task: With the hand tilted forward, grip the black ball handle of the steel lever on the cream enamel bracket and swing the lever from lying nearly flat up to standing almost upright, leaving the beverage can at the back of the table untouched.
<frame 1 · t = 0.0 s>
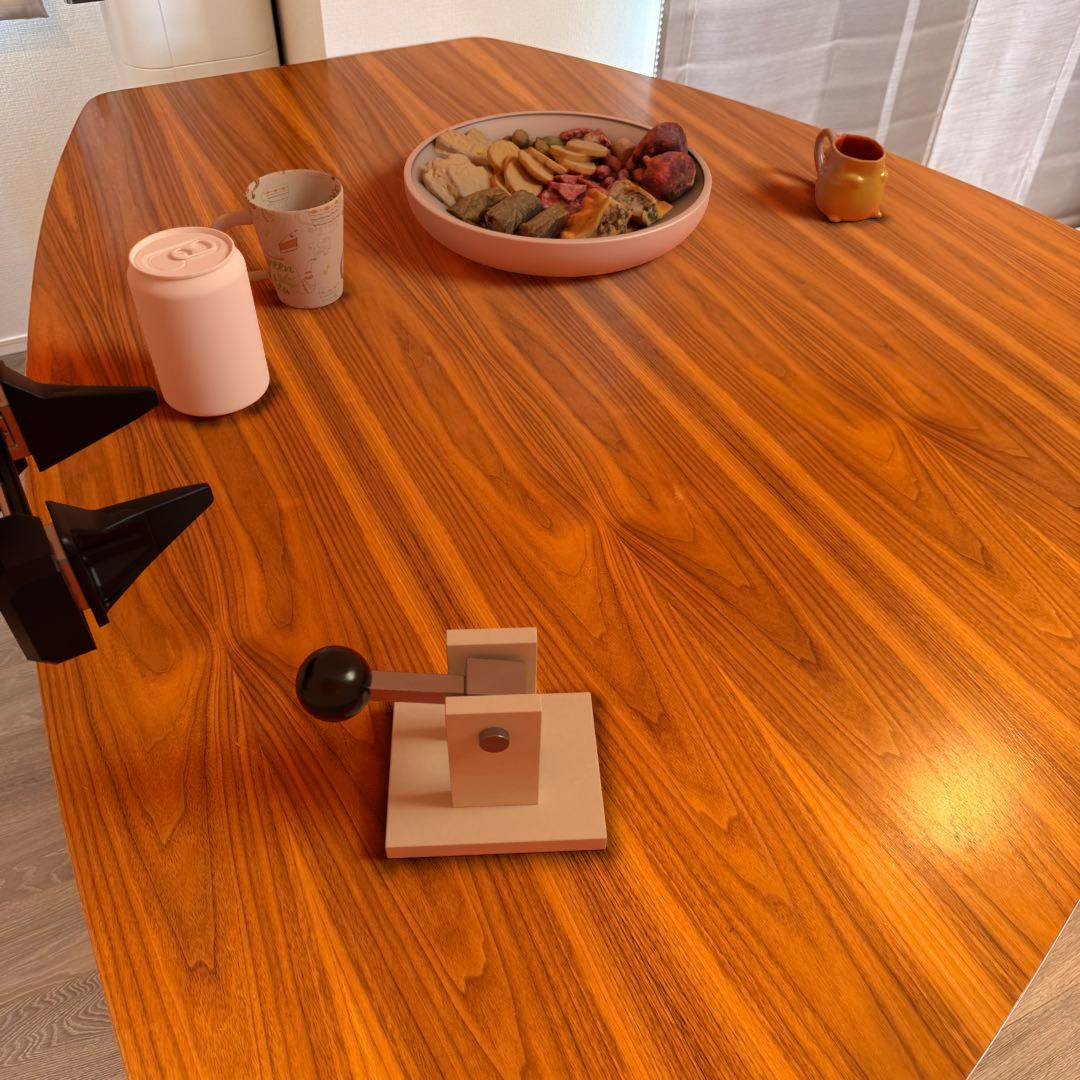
hand: (182, 440, 50), 14 cm above the table, tool horizontal, fingers open, 9 cm apart
mug: (288, 297, 87), on the table
lever: (410, 687, 46), point 8 cm above the table, hinge at 8.0°
mug 2: (834, 200, 103), on the table
beverage can: (219, 393, 76), on the table
bowl: (556, 218, 99), on the table
bracket: (494, 776, 52), on the table
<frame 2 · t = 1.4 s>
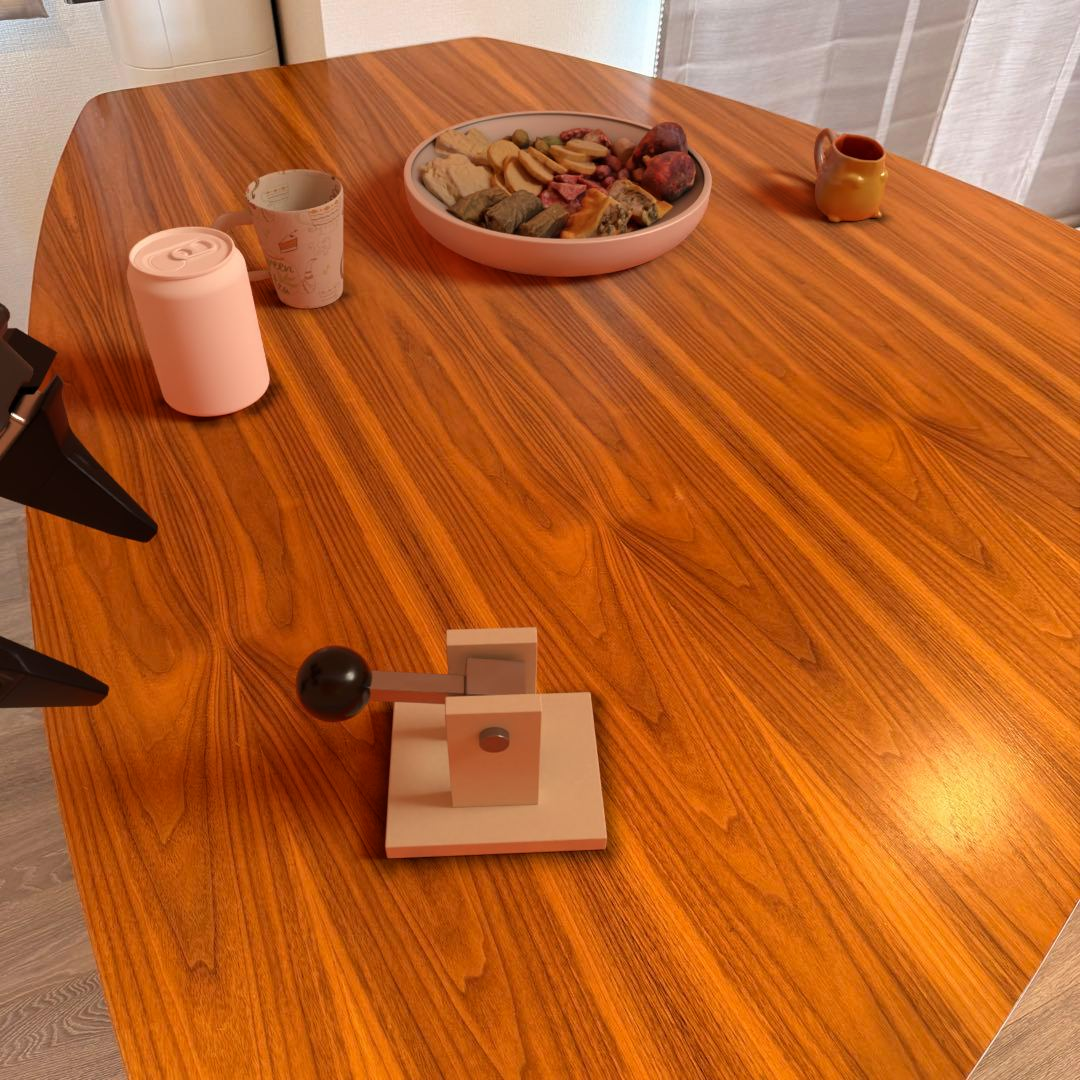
hand: (130, 609, 42), 14 cm above the table, tool tilted 45°, fingers open, 9 cm apart
nothing on the table moved.
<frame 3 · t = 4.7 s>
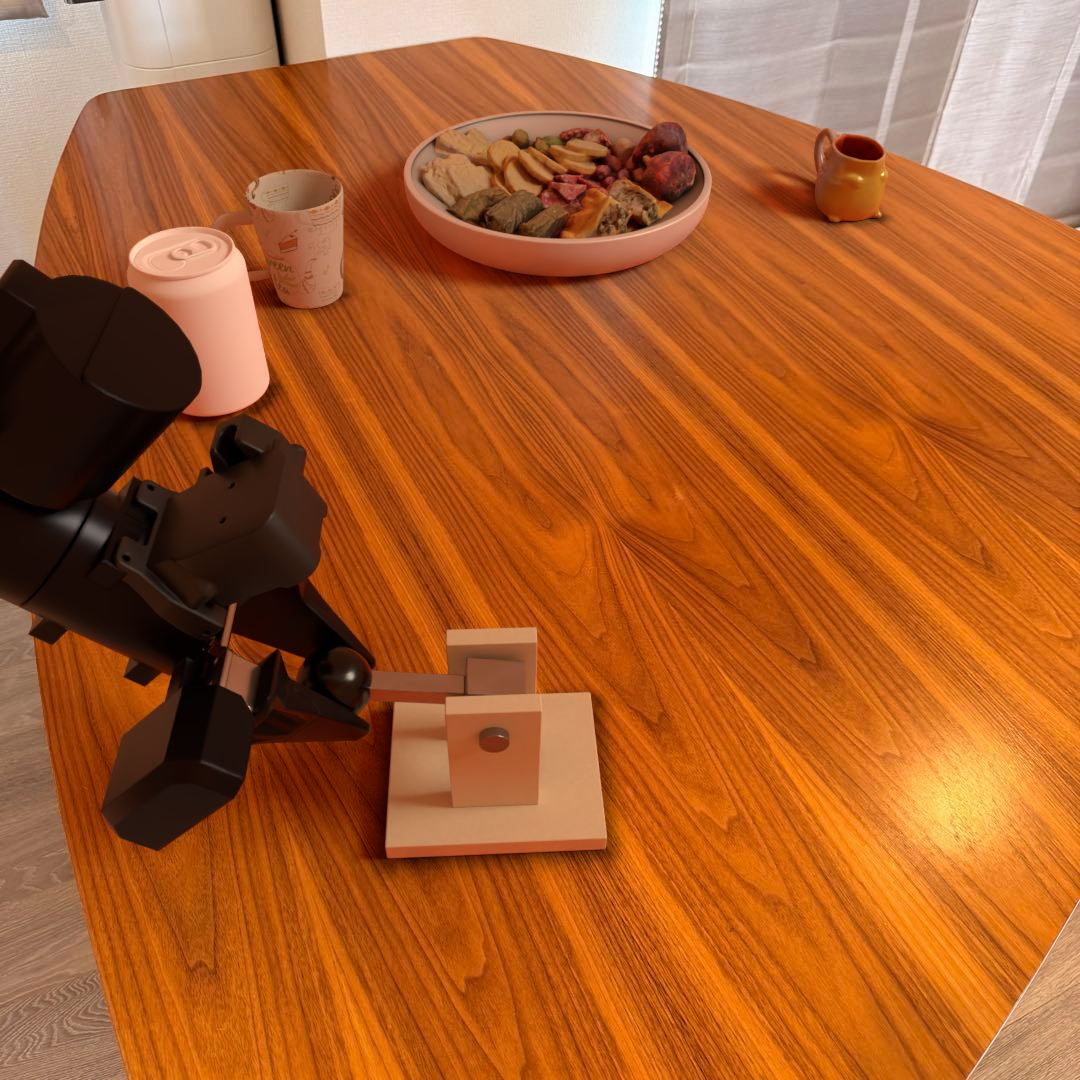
hand: (367, 700, 47), 7 cm above the table, tool tilted 45°, fingers closed on lever, 3 cm apart
lever: (410, 687, 46), point 8 cm above the table, hinge at 8.0°, touching gripper
everything else where it was.
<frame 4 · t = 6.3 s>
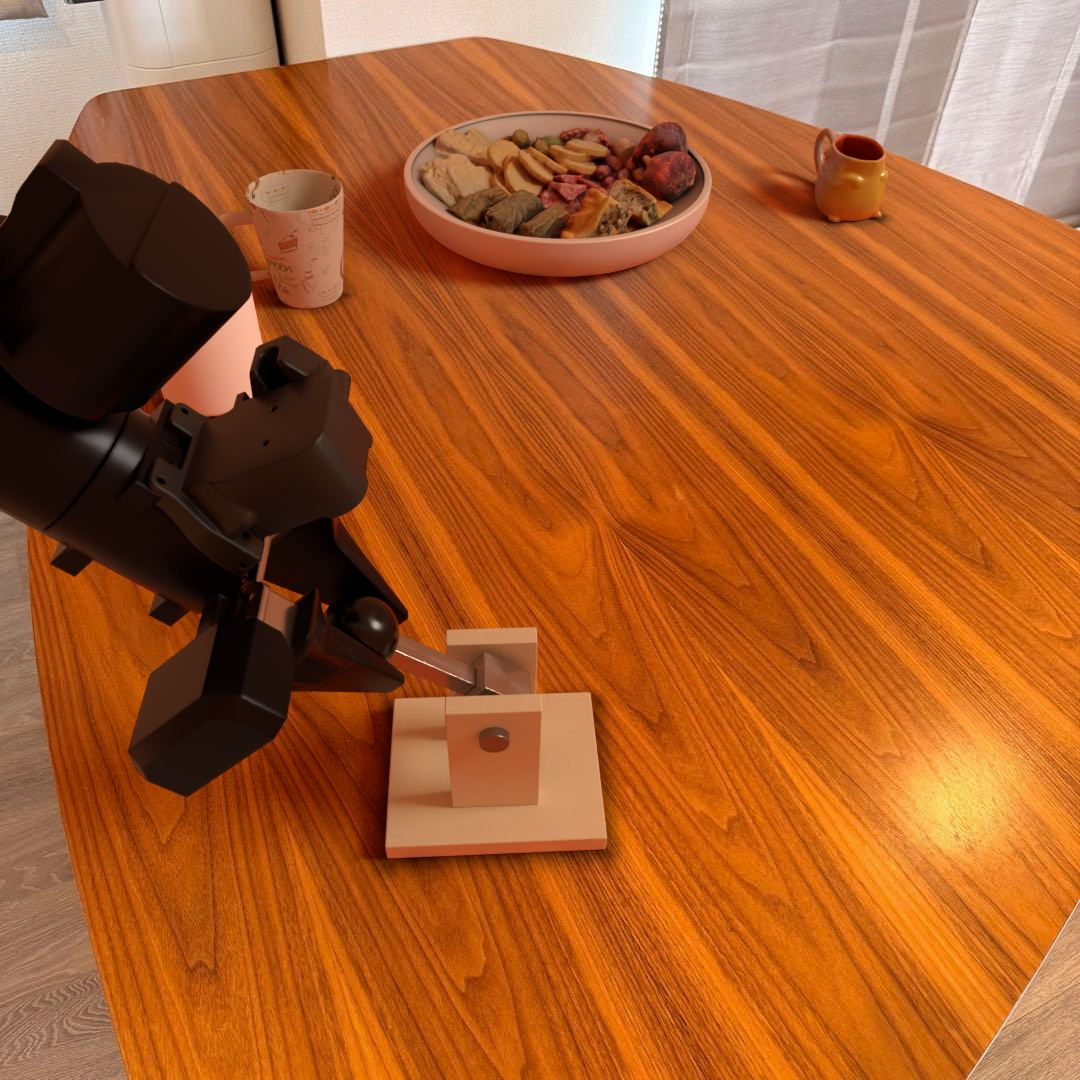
hand: (400, 652, 44), 11 cm above the table, tool tilted 45°, fingers closed on lever, 3 cm apart
lever: (424, 662, 45), point 10 cm above the table, hinge at 38.0°, touching gripper
everything else where it was.
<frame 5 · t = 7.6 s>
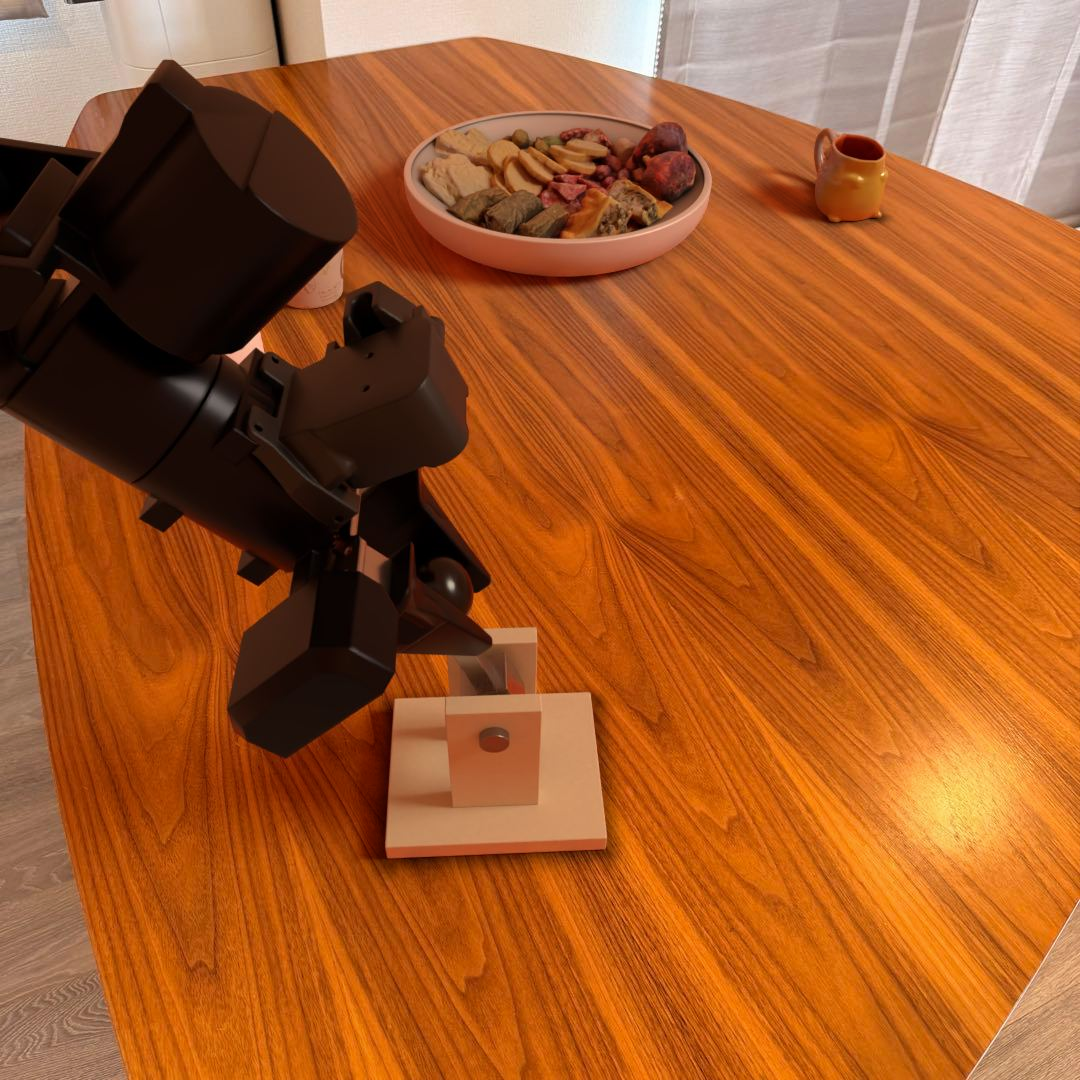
hand: (485, 616, 43), 13 cm above the table, tool tilted 45°, fingers closed on lever, 3 cm apart
lever: (462, 643, 44), point 11 cm above the table, hinge at 70.3°, touching gripper
everything else where it was.
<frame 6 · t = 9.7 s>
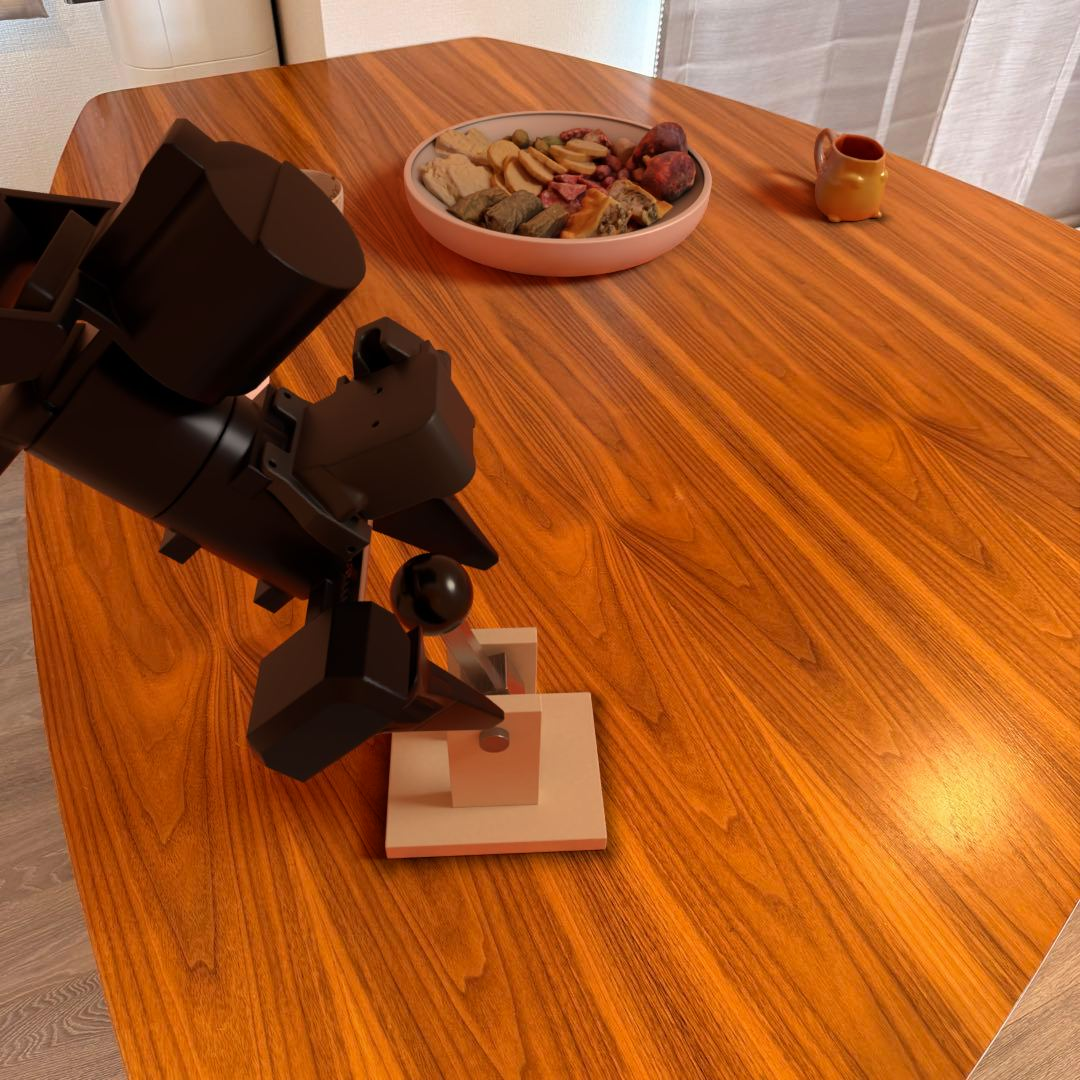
hand: (495, 636, 44), 12 cm above the table, tool tilted 45°, fingers open, 9 cm apart
lever: (462, 643, 44), point 11 cm above the table, hinge at 70.3°
everything else where it was.
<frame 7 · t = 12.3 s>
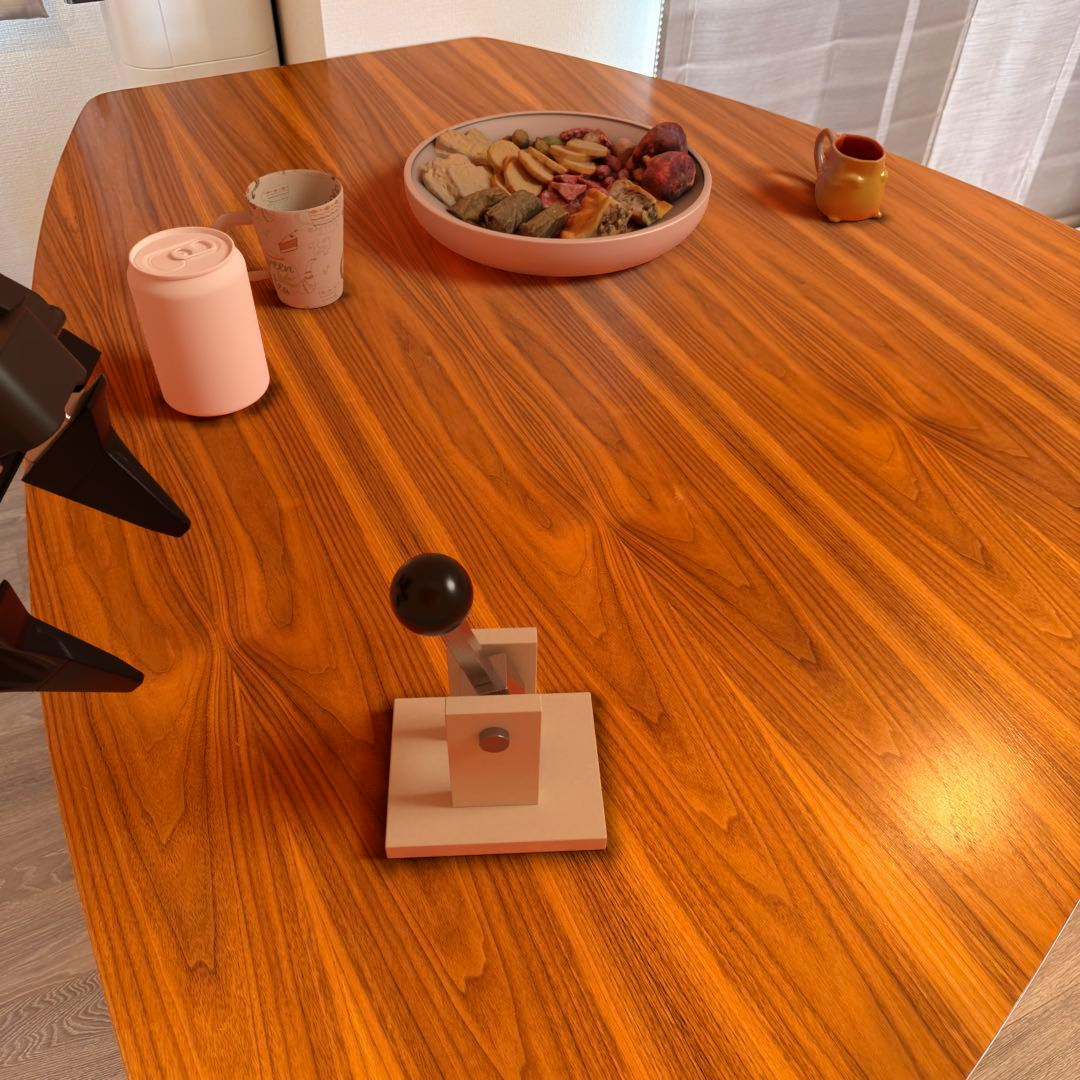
hand: (164, 601, 44), 13 cm above the table, tool tilted 45°, fingers open, 9 cm apart
nothing on the table moved.
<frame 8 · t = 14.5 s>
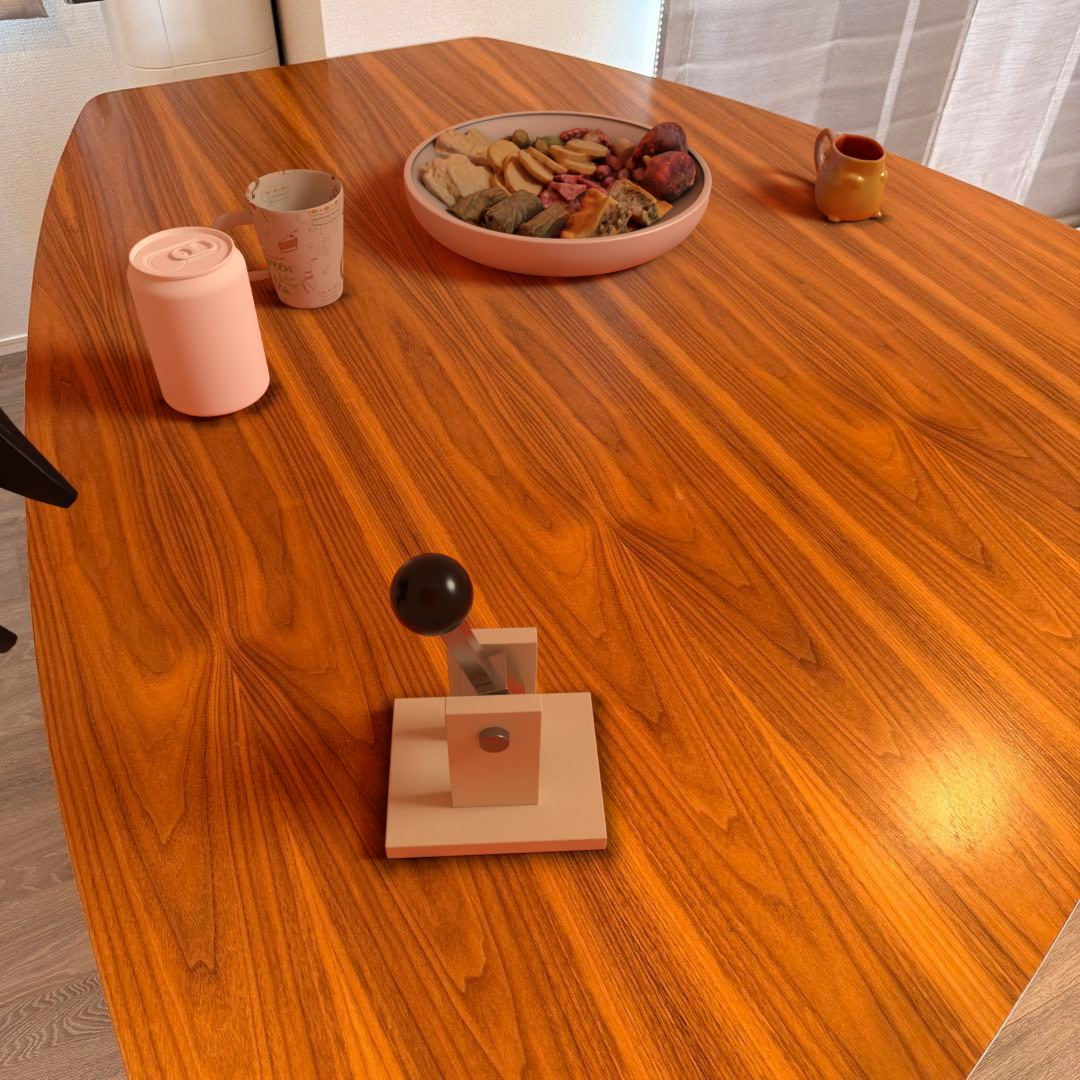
hand: (45, 568, 45), 13 cm above the table, tool tilted 45°, fingers open, 9 cm apart
nothing on the table moved.
at the end: lever at +70° (first picture: +8°); beverage can moved 0.2 cm from its start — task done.
